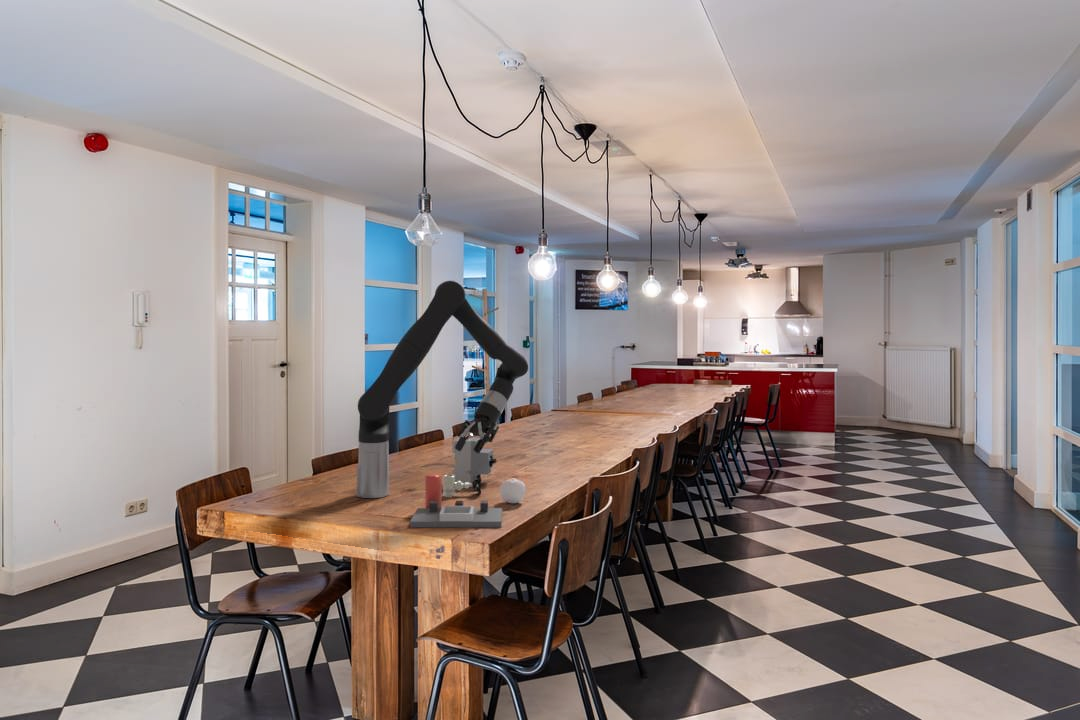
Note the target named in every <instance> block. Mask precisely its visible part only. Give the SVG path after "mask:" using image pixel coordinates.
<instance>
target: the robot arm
mask: <svg viewBox="0 0 1080 720" xmlns="http://www.w3.org/2000/svg"><path fill="white" fill-rule="evenodd" d="M452 317H454V318H455V319H456V320H457V321H458V322H459V323H460V324H461V325H462V326H463V328H464V329H465V330H466V331H467V332H468V333H469V334H470V336H471V337H472V338H473V340H474V341H475V342H476V343H477V344H478V345H479V346H480V348H481V349H482V350H483V351H484V352H485V353H486V354H487V355H488V357H490V358H491V359H492V360H497V361H500V362H501V364H500V365H499V367H498V369H497V372H496V374H495V378H494V379H493V380H494V381H493V383H492V384H491V386H490V387H489V389H488V391H486V394H484V396H483V398H482V399H481V401H480V403H479V404H478V406H477V407H476V410H475V411H474V413H473V417H474V419H473V420H472V421H469V420H468V419H466V420H465V421H464V422H463V423H462V426H460V428H459V430H458V432H457V433H456V436H457V437H458V438H460V439H459V440H458V442H457V444H456V446H455V449H457V450H458V451H461V450H462V448H463V446H464V445H465V443H466V441H467V440H468V439H470V438H475V437H477V436H478V437H479V438H480V440H478V442H477V443H476V445H475V447H474V449H473V450H474V451H475V452H476V453H480V451H481V450H482V449H484V446H485V445H486V444H488V443H492V442H493V441H494V439H495V437H496V436H497V435H496V434H497V432H498V430H499V428H500V426H499V425H498V424H497V422H498V420H499V419H500V417H501V415H502V413H503V411H504V410H505V408H506V405H507V403H508V401H509V400H510V397H511V396H512V394H513V391H514V385H513V384H514V382H515V380H517V379H519V378H522V377H523V376H525V375H526V374H527V372H528V371H529V364H528V361H527V359H526V358H525V356H524V355H522V354H521V353H520V352H519V351H517V350H516V349H515V348H514V347H512V346H510V345H509V344H507V342H506V341H505V340H504V339H503V338H502V336H501V335H500V334H499V333H498V332H497V331H496V330H495V328H493V327H492V326H491V325H490V324H489V322H487V321H486V320H485V319H484V318H483V317H481V315H479V314H478V312H477V311H476V310H475V309H474V308H473V307H472V305H471V304H470V303H469V300H468V299H467V298H466V290H465V289H464V286H463V285H462V284H461V283H459V282H458V281H456V280H445V281H443V282H442V283H440V284H439V285H438V286H437V287H436V289H435V291H434V295H433V297H432V299H431V301H430V303H429V305H428V306H427V308H426V310H425V311H424V312H423V313H422V315H421V316H420V317H419V318H417V320H416V321H415V322H414V323H413V324H412V325H411V327H409V329H408V330H407V331H406V333H405V334H404V335H403V336H402V338H401V339H400V341H399V342H397V343H398V344H397V345H396V347H395V348H394V350H393V351H392V353H391V354H390V356H389V358H388V359H387V362H386V363H385V366H384V368H382V370H381V373H380V374H379V376H378V377H377V378H376V379H375V381H374V382H373V383H372V384H371V385H370V387H368V389H367V390H366V391H365V392H364V393H362V395H361V396H360V397H359V399H358V400H357V401H358V402H357V411H358V414H359V426H358V427H359V429H358V465H357V466H356V497H357V498H362V499H378V498H379V499H380V498H384V497H387V496H388V495H389V474H390V473H389V471H390V470H389V469H390V468H389V452H390V451H389V448H390V445H389V438H390V437H389V435H390V405H391V404H392V401H393V400H394V398H395V396H396V395H397V393H398V391H399V390H400V388H401V387H402V386H403V384H404V383H405V382H406V381H407V380H408V379H409V378H410V377H411V376H412V375H413V374H414V373H415V371H416V370H417V369H418V368H419V366H420V365H421V364H422V362H423V361H424V360H425V358H426V356H427V355H428V354H429V352H430V350H431V349H432V347H433V346H434V343H435V342H436V341H437V338H438V337H439V335H440V333H441V331H442V329H443V328H444V326H445V325H446V324H447V322H448V321H449V320H450V318H452ZM455 449H454V450H455Z"/></svg>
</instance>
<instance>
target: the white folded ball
mask: <svg viewBox="0 0 1080 720" xmlns="http://www.w3.org/2000/svg"><path fill="white" fill-rule="evenodd" d="M526 491H527V487H526V485H525V483H524V482H523V481H522V480H520V479H517V478H514V477H511V478H510V479H507V480H505V481H504V482H503V483H501V484H500V486H499V494H500V497H501V499H502V500H503V501H504V502H505V503H509V504H517V503H520V502H521V501H523V499H524V497H525V495H526Z"/></svg>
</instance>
